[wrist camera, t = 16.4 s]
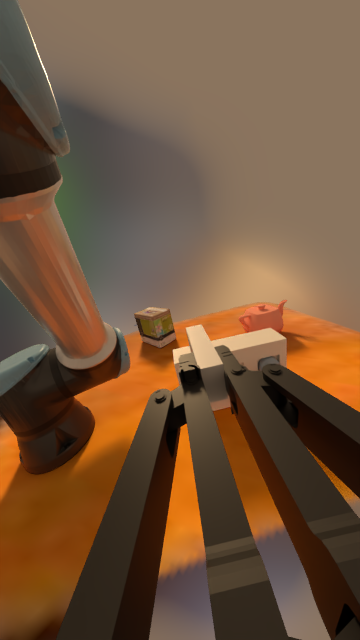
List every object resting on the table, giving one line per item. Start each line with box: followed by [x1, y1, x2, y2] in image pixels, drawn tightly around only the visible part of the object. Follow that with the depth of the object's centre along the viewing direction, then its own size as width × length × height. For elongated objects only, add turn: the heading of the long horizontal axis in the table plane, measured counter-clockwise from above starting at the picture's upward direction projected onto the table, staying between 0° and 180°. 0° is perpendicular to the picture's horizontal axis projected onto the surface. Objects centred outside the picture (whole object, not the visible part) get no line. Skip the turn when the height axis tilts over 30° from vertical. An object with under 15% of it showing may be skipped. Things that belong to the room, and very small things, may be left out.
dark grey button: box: [258, 356, 281, 371], centre depth 39 cm, size 4×2×4 cm, turn 95°
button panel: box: [173, 328, 287, 411], centre depth 43 cm, size 24×6×15 cm, turn 95°
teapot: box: [239, 300, 287, 333], centre depth 69 cm, size 20×12×12 cm, turn 103°
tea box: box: [134, 307, 176, 348], centre depth 82 cm, size 15×10×15 cm
